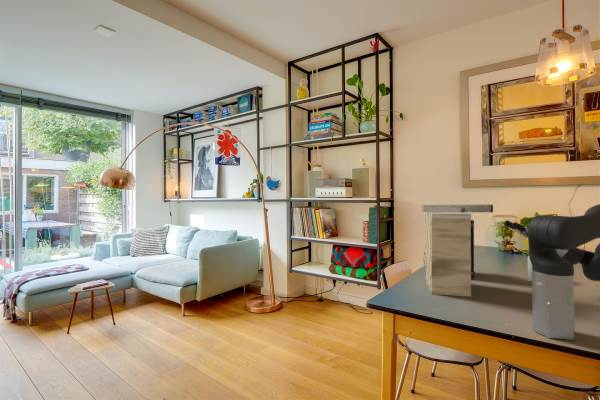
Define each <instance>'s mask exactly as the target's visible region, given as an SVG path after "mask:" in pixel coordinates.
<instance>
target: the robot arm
mask: <svg viewBox="0 0 600 400" xmlns="http://www.w3.org/2000/svg"><path fill="white" fill-rule="evenodd" d="M503 226H506V227H507V228H508V229H509V228H510V229H511V230H512V231H513V232H516V233H517V234H518V235H520V236H522V237H524V238H525V239H527V241H528V256H529V258H530V261H531V263H532V282H531V283H532V284H531V285H532V286H531V288H532V289H531V294H532V295H531V297H532V298H531V301H532V303H531V304H532V305H531V306H532V307H531V308H532V309H531V313H532V314H531V318H532V319H531V320H532V322H531V323H532V324H531V325H532V330H533V331H534V332H535V333H537V334H540V335H541V336H544V337H546V338H547V339H559V340H569V341H570V340H571V341H575V267H574V265H575V266H576V265H578V264H580V265H581V269H582V272H583V273H582V274H583V275H584V277H585V278H586V279H588V280H589V281H594V282H600V242H599V243H598V245H596V247H595V249H594V251H589V250H586V249H583V248H579V247H582V245H585V244H587V243H589V242H592V241H594V240H597V239H600V203H598V204H596V205H594V206H591V207H589V208H588V209H586V211H585V213H584V214H583V215H578V216H576V215H575V216H568V215H567V216H566V215H565V216H564V215H549V214H538V215H536V216H534V217H532V219H531V220H530V222H529V224H528V227H527V226H524V225H522V224H520V223H518V222H516V221H515V222H512V221H510V220H505V221H504V223H503Z"/></svg>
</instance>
